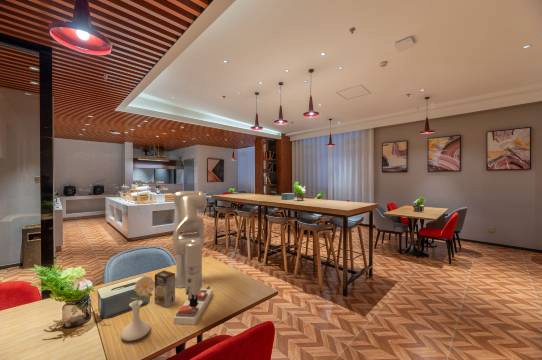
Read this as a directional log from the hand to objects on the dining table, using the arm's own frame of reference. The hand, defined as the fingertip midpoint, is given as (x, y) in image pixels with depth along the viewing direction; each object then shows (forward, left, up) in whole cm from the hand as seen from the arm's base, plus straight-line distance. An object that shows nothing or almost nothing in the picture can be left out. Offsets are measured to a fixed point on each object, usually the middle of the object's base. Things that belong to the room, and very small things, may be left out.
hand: (193, 305), depth 114 cm
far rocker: (-3, +14, -3) cm, 15 cm away
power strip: (-3, +14, -7) cm, 16 cm away
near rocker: (-3, 0, -3) cm, 4 cm away
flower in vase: (-20, -12, -7) cm, 24 cm away
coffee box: (-21, +13, -7) cm, 26 cm away
